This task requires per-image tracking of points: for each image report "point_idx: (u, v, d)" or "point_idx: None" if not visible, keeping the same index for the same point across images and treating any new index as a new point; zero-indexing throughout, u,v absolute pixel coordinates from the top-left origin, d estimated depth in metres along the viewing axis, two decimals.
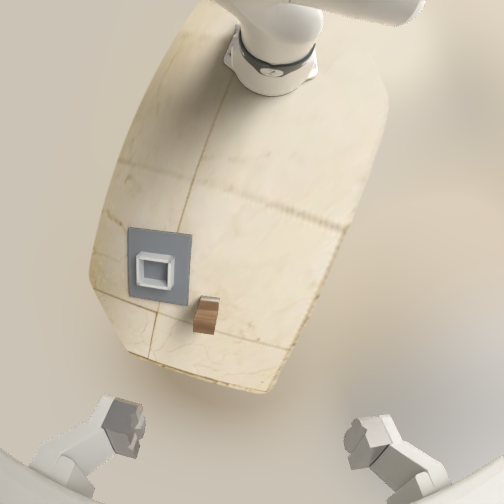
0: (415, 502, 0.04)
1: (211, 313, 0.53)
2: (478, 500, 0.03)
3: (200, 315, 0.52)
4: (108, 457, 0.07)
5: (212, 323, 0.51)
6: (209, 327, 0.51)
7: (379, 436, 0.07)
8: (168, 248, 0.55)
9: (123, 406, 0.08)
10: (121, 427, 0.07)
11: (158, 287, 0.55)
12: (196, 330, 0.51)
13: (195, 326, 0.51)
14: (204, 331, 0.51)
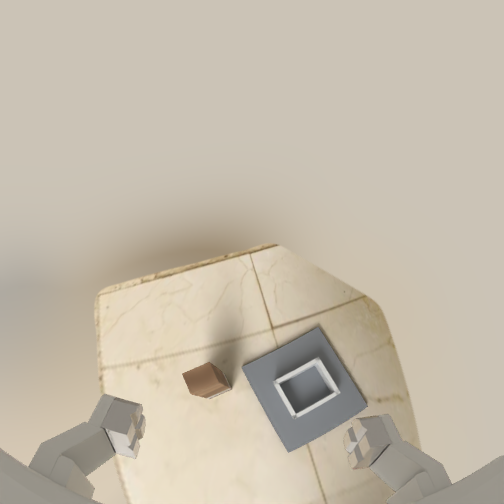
0: (415, 502, 0.04)
1: (203, 393, 0.33)
2: (478, 500, 0.03)
3: (214, 386, 0.33)
4: (108, 457, 0.07)
5: (192, 390, 0.31)
6: (192, 381, 0.32)
7: (379, 436, 0.07)
8: (306, 421, 0.35)
9: (123, 406, 0.08)
10: (121, 427, 0.07)
11: (289, 374, 0.37)
12: (206, 366, 0.33)
13: (210, 372, 0.32)
14: (195, 371, 0.32)
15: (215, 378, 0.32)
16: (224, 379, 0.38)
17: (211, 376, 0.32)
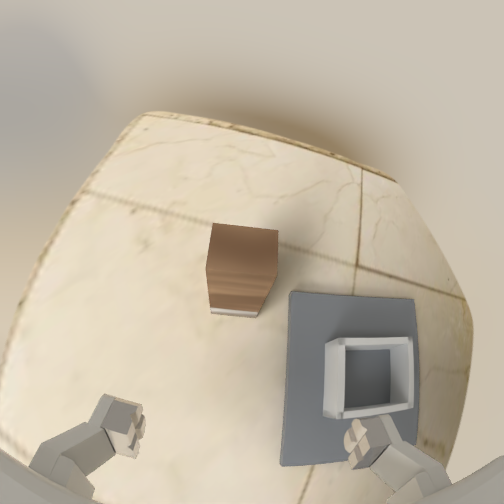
0: (415, 502, 0.04)
1: (222, 288, 0.18)
2: (478, 500, 0.03)
3: (255, 284, 0.17)
4: (108, 457, 0.07)
5: (213, 262, 0.15)
6: (224, 247, 0.16)
7: (379, 436, 0.07)
8: (337, 430, 0.19)
9: (123, 405, 0.08)
10: (121, 427, 0.07)
11: (366, 341, 0.20)
12: (268, 235, 0.17)
13: (271, 249, 0.16)
14: (241, 232, 0.16)
15: (274, 265, 0.16)
16: None
17: (268, 257, 0.16)
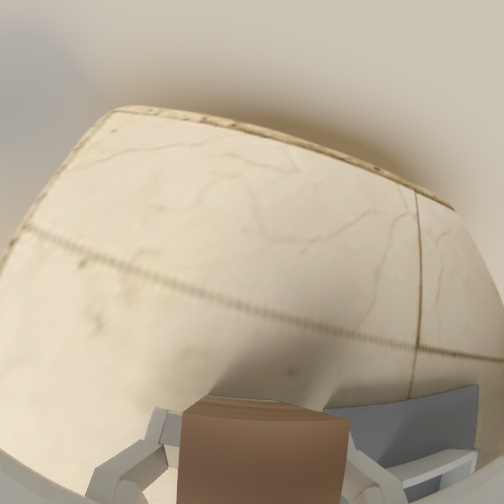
0: (415, 502, 0.04)
1: None
2: (477, 500, 0.03)
3: None
4: (161, 472, 0.07)
5: None
6: (217, 477, 0.05)
7: None
8: None
9: (178, 418, 0.08)
10: None
11: (429, 475, 0.09)
12: (326, 436, 0.05)
13: (331, 467, 0.05)
14: (259, 438, 0.05)
15: (334, 499, 0.04)
16: None
17: (323, 486, 0.05)
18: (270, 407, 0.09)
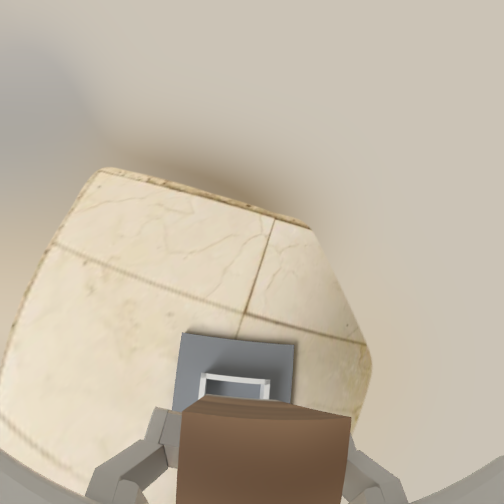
0: (415, 502, 0.04)
1: None
2: (478, 500, 0.03)
3: None
4: (161, 472, 0.07)
5: None
6: (217, 476, 0.05)
7: None
8: None
9: (178, 418, 0.08)
10: None
11: (224, 378, 0.28)
12: (326, 435, 0.05)
13: (332, 466, 0.05)
14: (259, 437, 0.05)
15: (335, 498, 0.04)
16: None
17: (324, 486, 0.05)
18: (270, 406, 0.09)
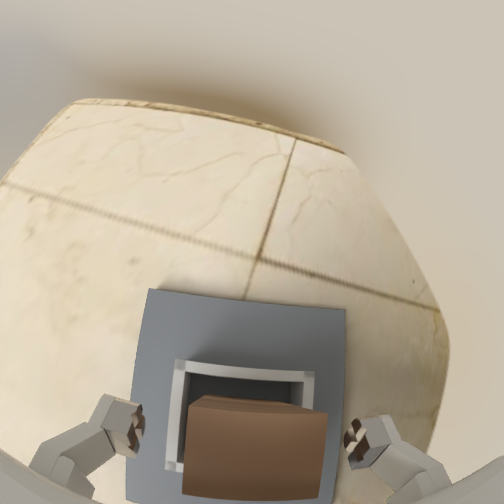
0: (415, 502, 0.04)
1: None
2: (478, 500, 0.03)
3: None
4: (108, 457, 0.07)
5: (196, 486, 0.05)
6: (216, 459, 0.06)
7: (379, 436, 0.07)
8: None
9: (123, 406, 0.08)
10: (121, 427, 0.07)
11: (223, 370, 0.14)
12: (307, 427, 0.07)
13: (311, 454, 0.06)
14: (251, 427, 0.06)
15: (315, 482, 0.06)
16: None
17: (305, 470, 0.06)
18: (264, 403, 0.11)
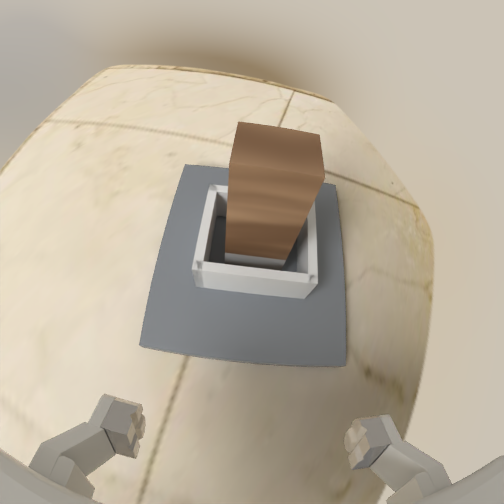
0: (415, 502, 0.04)
1: (246, 208, 0.13)
2: (478, 500, 0.03)
3: (292, 197, 0.12)
4: (108, 457, 0.07)
5: (240, 157, 0.11)
6: (254, 143, 0.11)
7: (379, 436, 0.07)
8: (214, 309, 0.18)
9: (123, 405, 0.08)
10: (121, 427, 0.07)
11: None
12: (307, 137, 0.12)
13: (313, 150, 0.12)
14: (274, 132, 0.12)
15: (320, 166, 0.11)
16: None
17: (311, 157, 0.11)
18: None
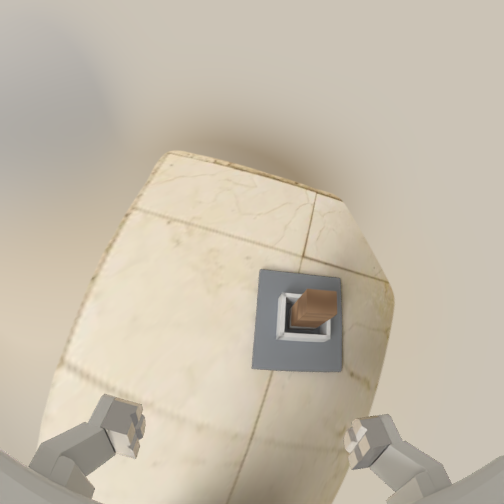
0: (415, 502, 0.04)
1: (307, 318, 0.35)
2: (478, 500, 0.03)
3: (325, 316, 0.34)
4: (108, 457, 0.07)
5: (309, 309, 0.32)
6: (313, 301, 0.33)
7: (379, 436, 0.07)
8: (284, 349, 0.39)
9: (123, 406, 0.08)
10: (121, 427, 0.07)
11: (299, 295, 0.40)
12: (332, 294, 0.33)
13: (334, 301, 0.33)
14: (320, 293, 0.33)
15: (335, 309, 0.33)
16: None
17: (333, 305, 0.33)
18: None
